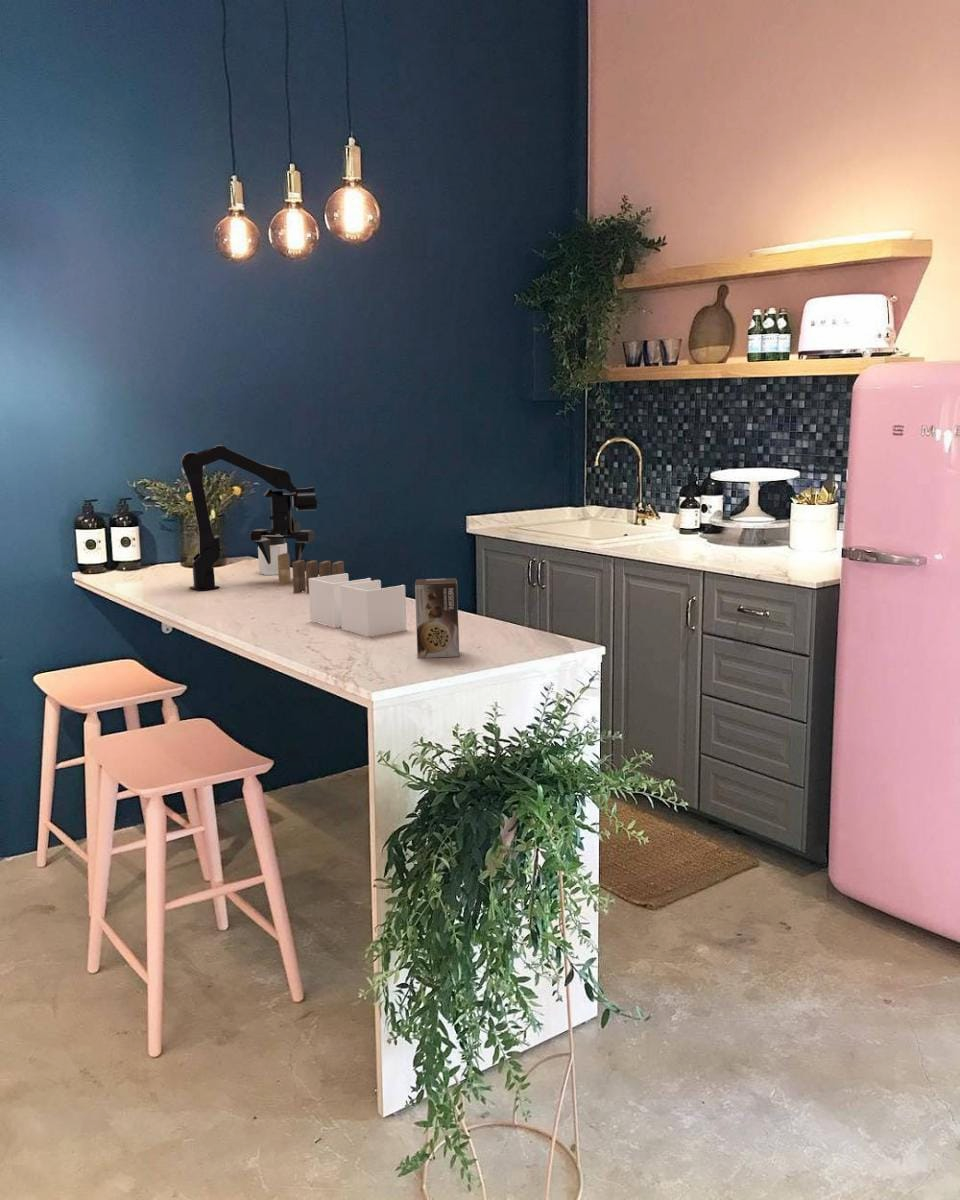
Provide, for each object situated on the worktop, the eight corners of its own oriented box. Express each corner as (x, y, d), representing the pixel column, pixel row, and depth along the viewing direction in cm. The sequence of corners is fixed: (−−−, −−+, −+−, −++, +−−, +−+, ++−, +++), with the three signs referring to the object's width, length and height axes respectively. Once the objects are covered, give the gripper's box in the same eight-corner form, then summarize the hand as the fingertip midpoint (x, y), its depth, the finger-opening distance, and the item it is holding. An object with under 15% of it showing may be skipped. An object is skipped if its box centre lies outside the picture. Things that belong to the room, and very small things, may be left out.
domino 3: (306, 593, 316) (305, 562, 314) (313, 590, 320) (312, 560, 319) (312, 593, 315) (310, 563, 314) (318, 590, 320) (317, 560, 318)
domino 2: (293, 593, 317) (292, 562, 315) (300, 590, 321) (299, 560, 320) (299, 593, 316) (297, 562, 315) (305, 590, 321) (304, 560, 319)
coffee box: (458, 650, 244) (457, 577, 241) (459, 657, 238) (458, 582, 235) (417, 651, 244) (415, 578, 241) (416, 658, 237) (414, 583, 234)
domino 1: (279, 585, 331) (277, 555, 329) (285, 582, 335) (284, 553, 334) (284, 585, 330) (282, 555, 329) (290, 582, 335) (289, 553, 333)
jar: (269, 570, 358) (267, 533, 356) (292, 571, 356) (290, 534, 353) (254, 574, 350) (252, 536, 348) (277, 575, 347) (275, 537, 345)
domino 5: (333, 594, 314) (332, 563, 312) (339, 591, 318) (338, 561, 317) (338, 594, 313) (337, 563, 312) (345, 591, 318) (343, 561, 316)
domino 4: (320, 594, 315) (318, 563, 313) (326, 591, 319) (325, 560, 318) (325, 594, 314) (324, 563, 313) (331, 591, 319) (330, 560, 317)
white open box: (310, 622, 278) (308, 578, 276) (347, 615, 285) (345, 573, 283) (368, 637, 259) (366, 591, 257) (406, 630, 266) (405, 585, 264)
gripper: (321, 509, 334) (323, 561, 337) (264, 508, 339) (266, 559, 342) (306, 513, 324) (308, 566, 326) (247, 512, 328) (250, 565, 331)
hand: (283, 564), depth 332 cm, fingers open, 9 cm apart
